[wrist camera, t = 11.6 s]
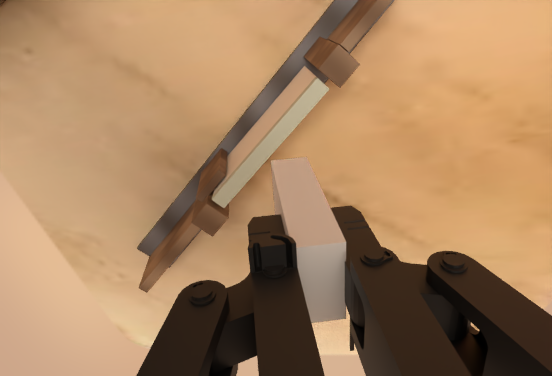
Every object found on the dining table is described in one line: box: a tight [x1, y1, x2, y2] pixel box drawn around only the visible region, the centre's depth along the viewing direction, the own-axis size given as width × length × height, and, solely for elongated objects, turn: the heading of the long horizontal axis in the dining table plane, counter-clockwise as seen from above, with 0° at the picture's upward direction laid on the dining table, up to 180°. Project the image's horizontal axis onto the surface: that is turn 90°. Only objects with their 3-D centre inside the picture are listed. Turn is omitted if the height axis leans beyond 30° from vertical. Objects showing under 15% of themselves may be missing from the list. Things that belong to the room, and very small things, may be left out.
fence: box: [137, 0, 394, 292], centre depth 41 cm, size 38×4×9 cm, turn 140°
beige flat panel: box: [212, 66, 329, 208], centre depth 40 cm, size 14×1×8 cm, turn 139°
